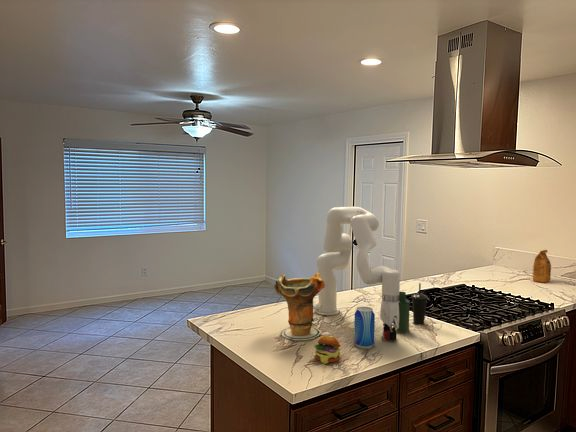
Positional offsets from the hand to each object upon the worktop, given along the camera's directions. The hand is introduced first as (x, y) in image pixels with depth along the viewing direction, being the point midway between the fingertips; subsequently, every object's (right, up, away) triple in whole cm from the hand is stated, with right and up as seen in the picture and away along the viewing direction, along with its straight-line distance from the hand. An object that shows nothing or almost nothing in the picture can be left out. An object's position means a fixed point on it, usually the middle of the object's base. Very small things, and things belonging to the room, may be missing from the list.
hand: (389, 337), depth 183 cm
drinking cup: (+19, +1, +20) cm, 28 cm away
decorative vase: (-40, 0, +6) cm, 41 cm away
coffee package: (+133, +8, +106) cm, 170 cm away
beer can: (-13, -1, -8) cm, 15 cm away
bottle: (+8, 0, +11) cm, 13 cm away
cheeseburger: (-30, -3, -20) cm, 36 cm away
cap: (0, -1, 0) cm, 1 cm away
